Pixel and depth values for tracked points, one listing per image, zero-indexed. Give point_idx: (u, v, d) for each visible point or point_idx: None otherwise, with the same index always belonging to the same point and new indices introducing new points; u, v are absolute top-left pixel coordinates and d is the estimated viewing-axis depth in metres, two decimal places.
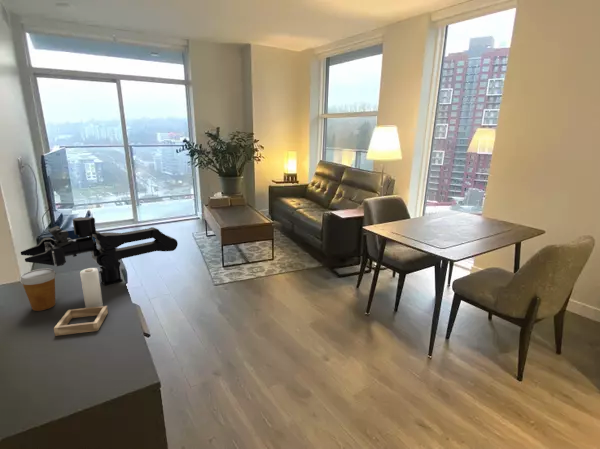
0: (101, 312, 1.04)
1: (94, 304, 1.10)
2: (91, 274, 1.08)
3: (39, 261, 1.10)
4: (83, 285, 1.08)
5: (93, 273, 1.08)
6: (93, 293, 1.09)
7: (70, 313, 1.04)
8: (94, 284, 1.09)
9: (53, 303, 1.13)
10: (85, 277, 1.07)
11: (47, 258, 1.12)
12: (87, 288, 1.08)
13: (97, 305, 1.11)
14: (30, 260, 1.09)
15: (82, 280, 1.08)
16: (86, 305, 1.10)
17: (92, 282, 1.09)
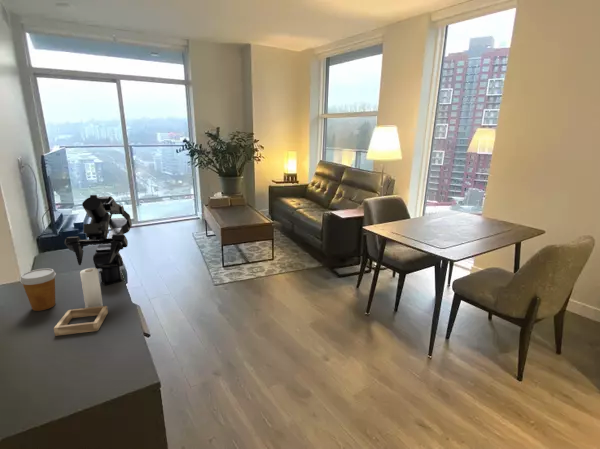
0: (101, 312, 1.04)
1: (94, 304, 1.10)
2: (91, 274, 1.08)
3: (114, 255, 1.19)
4: (83, 285, 1.08)
5: (93, 273, 1.08)
6: (93, 293, 1.09)
7: (70, 313, 1.04)
8: (94, 284, 1.09)
9: (53, 303, 1.13)
10: (85, 277, 1.07)
11: (114, 249, 1.20)
12: (87, 288, 1.08)
13: (97, 305, 1.11)
14: (111, 259, 1.17)
15: (82, 280, 1.08)
16: (86, 305, 1.10)
17: (92, 282, 1.09)
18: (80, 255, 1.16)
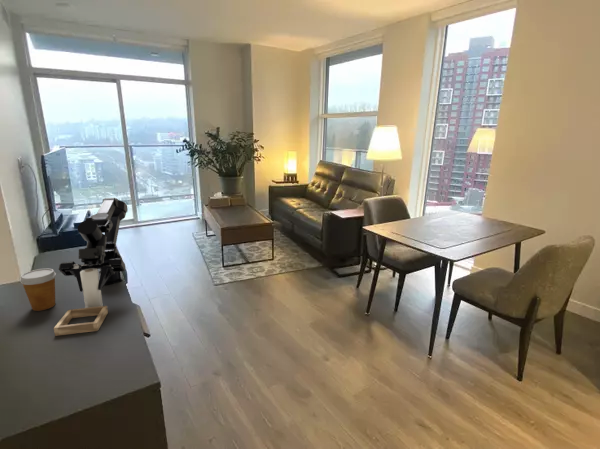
0: (101, 312, 1.04)
1: (94, 304, 1.10)
2: (91, 274, 1.08)
3: (105, 280, 1.13)
4: (83, 285, 1.08)
5: (93, 273, 1.08)
6: (93, 293, 1.09)
7: (70, 313, 1.04)
8: (94, 284, 1.09)
9: (53, 303, 1.13)
10: (85, 277, 1.07)
11: (105, 274, 1.14)
12: (87, 288, 1.08)
13: (97, 305, 1.11)
14: (101, 286, 1.11)
15: (82, 280, 1.08)
16: (86, 305, 1.10)
17: (92, 282, 1.09)
18: None
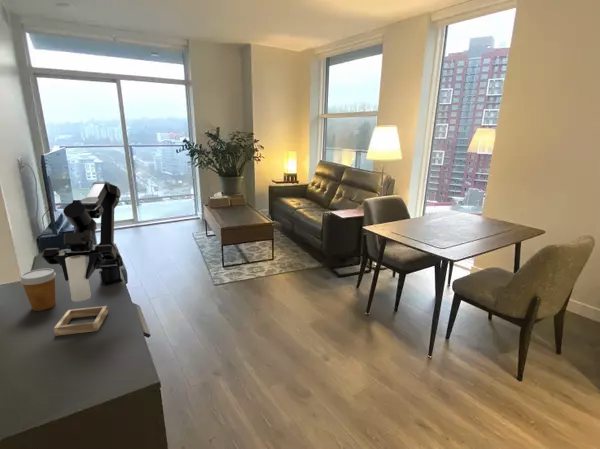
0: (101, 312, 1.04)
1: (81, 295, 1.00)
2: (78, 261, 0.98)
3: (93, 269, 1.03)
4: (69, 273, 0.98)
5: (79, 259, 0.98)
6: (80, 282, 0.99)
7: (70, 313, 1.04)
8: (81, 272, 0.99)
9: (53, 303, 1.13)
10: (71, 264, 0.97)
11: (94, 262, 1.04)
12: (73, 276, 0.98)
13: (84, 296, 1.00)
14: (89, 275, 1.01)
15: (68, 267, 0.98)
16: (72, 296, 1.00)
17: (79, 270, 0.98)
18: None
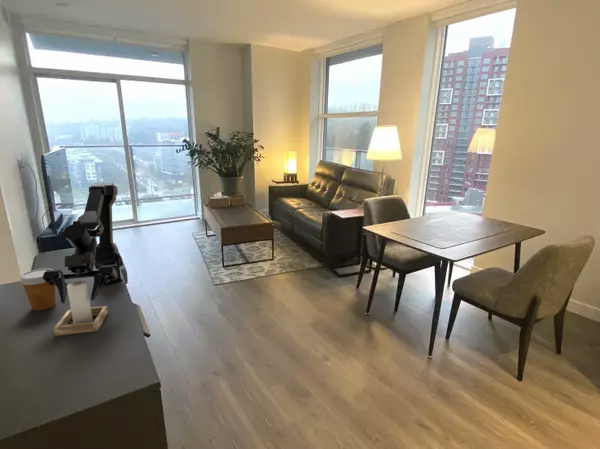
0: (101, 312, 1.04)
1: (83, 321, 1.00)
2: (79, 288, 0.98)
3: (98, 290, 1.03)
4: (70, 300, 0.98)
5: (81, 286, 0.98)
6: (82, 309, 0.99)
7: (70, 313, 1.04)
8: (83, 299, 0.99)
9: (53, 303, 1.13)
10: (73, 292, 0.97)
11: (99, 283, 1.04)
12: (75, 304, 0.98)
13: (86, 322, 1.01)
14: (95, 296, 1.01)
15: (69, 295, 0.98)
16: (74, 322, 1.00)
17: (80, 297, 0.98)
18: (64, 291, 1.00)
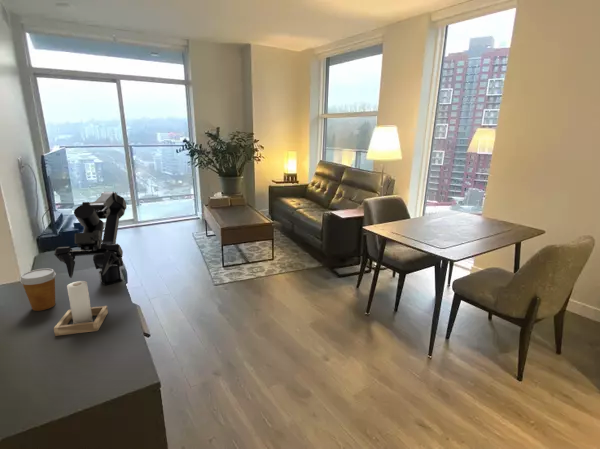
0: (101, 312, 1.04)
1: (83, 321, 1.00)
2: (79, 288, 0.98)
3: (108, 266, 1.11)
4: (71, 300, 0.98)
5: (81, 286, 0.98)
6: (82, 309, 0.99)
7: (70, 313, 1.04)
8: (83, 299, 0.99)
9: (53, 303, 1.13)
10: (73, 291, 0.97)
11: (108, 259, 1.12)
12: (75, 303, 0.98)
13: (86, 322, 1.01)
14: (105, 271, 1.10)
15: (69, 295, 0.98)
16: (74, 322, 1.00)
17: (80, 297, 0.98)
18: (71, 267, 1.08)
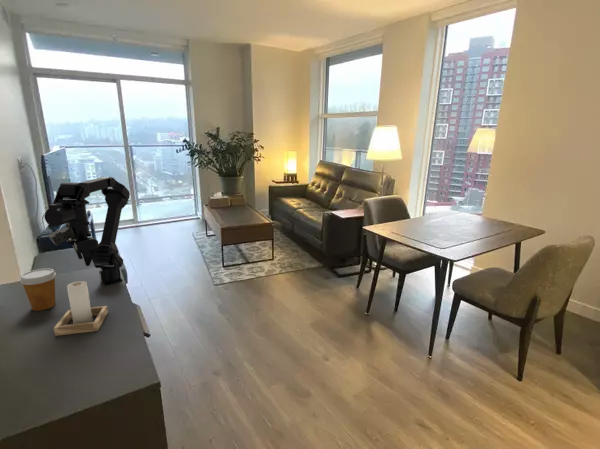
0: (101, 312, 1.04)
1: (83, 321, 1.00)
2: (79, 288, 0.98)
3: (90, 256, 1.13)
4: (70, 300, 0.98)
5: (81, 286, 0.98)
6: (82, 309, 0.99)
7: (70, 313, 1.04)
8: (83, 299, 0.99)
9: (53, 303, 1.13)
10: (72, 292, 0.97)
11: (88, 250, 1.12)
12: (75, 304, 0.98)
13: (86, 322, 1.01)
14: (88, 262, 1.13)
15: (69, 295, 0.98)
16: (74, 322, 1.00)
17: (80, 297, 0.98)
18: None
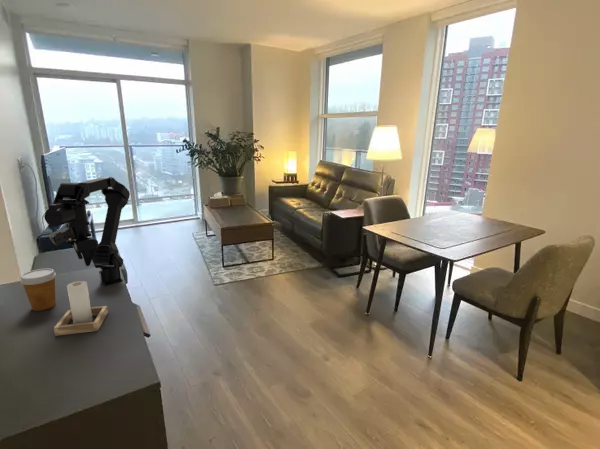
0: (101, 312, 1.04)
1: (83, 321, 1.00)
2: (79, 288, 0.98)
3: (90, 256, 1.13)
4: (70, 300, 0.98)
5: (81, 286, 0.98)
6: (82, 309, 0.99)
7: (70, 313, 1.04)
8: (83, 299, 0.99)
9: (53, 303, 1.13)
10: (73, 291, 0.97)
11: (88, 250, 1.12)
12: (75, 303, 0.98)
13: (86, 322, 1.01)
14: (88, 262, 1.13)
15: (69, 295, 0.98)
16: (74, 322, 1.00)
17: (80, 297, 0.98)
18: None
